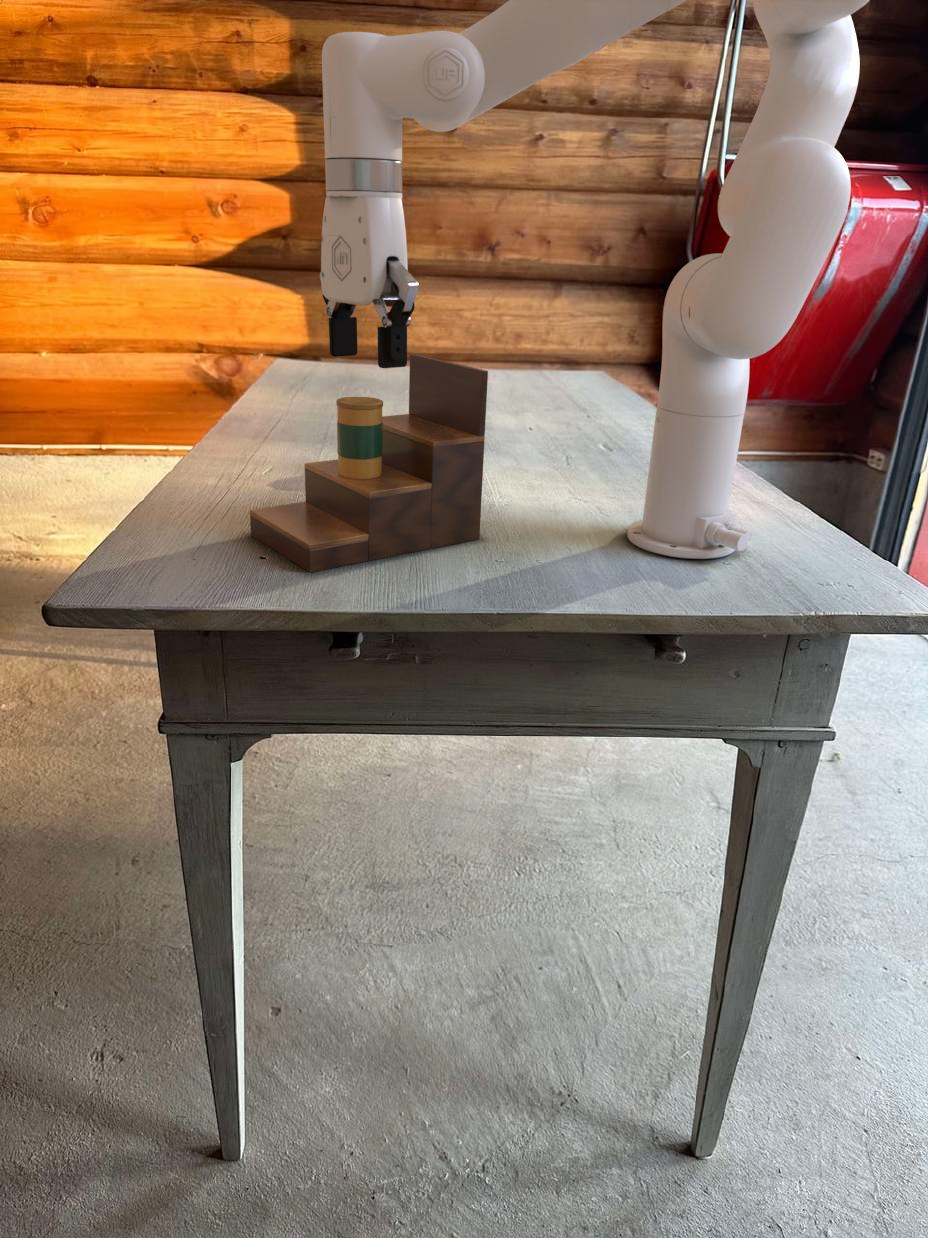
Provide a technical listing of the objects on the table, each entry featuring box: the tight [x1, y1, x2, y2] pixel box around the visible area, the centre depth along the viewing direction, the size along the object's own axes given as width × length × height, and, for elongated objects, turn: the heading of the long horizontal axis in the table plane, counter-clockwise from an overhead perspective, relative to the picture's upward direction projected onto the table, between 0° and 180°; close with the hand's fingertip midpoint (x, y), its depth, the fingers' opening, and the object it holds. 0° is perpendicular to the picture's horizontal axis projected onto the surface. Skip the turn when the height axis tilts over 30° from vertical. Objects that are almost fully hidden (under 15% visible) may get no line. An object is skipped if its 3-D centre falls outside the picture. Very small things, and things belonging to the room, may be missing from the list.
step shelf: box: [249, 353, 489, 573], centre depth 101 cm, size 22×14×19 cm, turn 127°
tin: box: [335, 396, 384, 479], centre depth 99 cm, size 5×5×8 cm
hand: (367, 361), depth 96 cm, fingers open, 9 cm apart
